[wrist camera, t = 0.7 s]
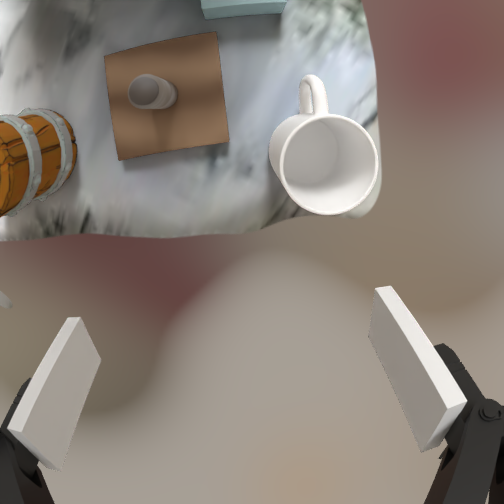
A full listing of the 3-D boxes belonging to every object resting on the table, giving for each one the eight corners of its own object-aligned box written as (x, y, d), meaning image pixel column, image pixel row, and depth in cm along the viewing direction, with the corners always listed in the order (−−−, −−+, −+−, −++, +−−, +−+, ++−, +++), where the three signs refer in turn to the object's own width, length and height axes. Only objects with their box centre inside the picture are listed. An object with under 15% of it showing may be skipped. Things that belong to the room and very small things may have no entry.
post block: (109, 57, 28) (72, 45, 19) (216, 34, 27) (210, 10, 19) (123, 158, 33) (89, 175, 24) (229, 140, 33) (226, 150, 24)
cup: (272, 190, 35) (285, 221, 26) (258, 83, 30) (267, 71, 21) (343, 183, 35) (379, 210, 26) (335, 78, 30) (371, 68, 21)
